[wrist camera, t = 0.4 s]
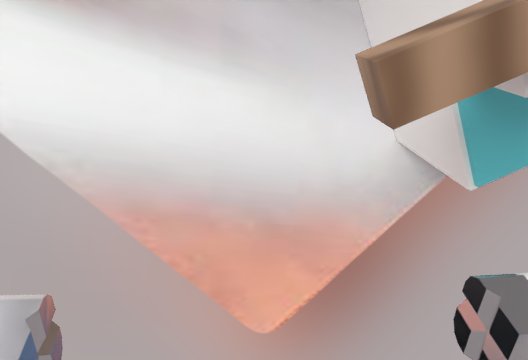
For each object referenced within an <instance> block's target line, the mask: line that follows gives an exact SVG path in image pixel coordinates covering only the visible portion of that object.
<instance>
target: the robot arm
mask: <svg viewBox="0 0 528 360" xmlns="http://www.w3.org/2000/svg"><path fill="white" fill-rule="evenodd" d="M462 291H463V293H464V295H465V297H466V298H467V299H466V300H465V301H463V302H462V303H461V304H460V305H459V306H458V307H457V309H456V313H455V316H454V333H455V336H456V339H457V342H458V344H459V346H460V348H461V350H462V352H463V353H464V354H465V355H467V356H468V357H469V358H471V359H472V360H528V273H518V274H502V275H484V276H470V277H469V278H468V279H467V280H466V282H465V284H464V287H463V290H462ZM55 310H56V309H55V306H54V303H53V299H52V297H51V296H50V295H48V294H32V295H0V360H61V357H62V335H61V331H60V327H59V326H57V324H55V323H54V322H52V318H53V315H54V313H55Z"/></svg>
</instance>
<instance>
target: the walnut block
mask: <svg viewBox="0 0 528 360" xmlns="http://www.w3.org/2000/svg"><path fill="white" fill-rule="evenodd" d="M355 56H356V59H357V63H358V66H359V70H360V73H361V77H362V80H363V84H364V87H365V91H366V94H367V98H368V101H369V105H370V108H371V112H372V115H373V117H375V118H376V119H378V120H379V121H381V122H382V123H384V124H386V125H387V126H389V127H390V128H392V129H393V130H394V129H396V128H399V127H401V126H403V125H406V124H408V123H410V122H413V121H415V120H417V119H420V118H422V117H424V116H427V115H429V114H431V113H434V112H436V111H438V110H441V109H443V108H445V107H448V106H450V105H452V104H455V103H457V102H459V101H462V100H464V99H466V98H469V97H471V96H473V95H476V94H478V93H481V92H483V91H485V90H488V89H490V88H492V87H495V86H497V85H499V84H502V83H504V82H506V81H509V80H511V79H513V78H516V77H518V76H520V75H523V74H525V73H527V72H528V0H483V1H481V2H478V3H476V4H473V5H471V6H469V7H466V8H464V9H462V10H459V11H457V12H455V13H452V14H450V15H447V16H445V17H443V18H440V19H438V20H436V21H433V22H431V23H429V24H426V25H424V26H421V27H419V28H417V29H414V30H412V31H410V32H407V33H405V34H403V35H400V36H398V37H395V38H393V39H391V40H388V41H386V42H384V43H381V44H379V45H377V46H374V47H372V48H369V49H367V50H365V51H362V52H360V53H358V54H355Z"/></svg>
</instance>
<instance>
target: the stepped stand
mask: <svg viewBox="0 0 528 360" xmlns="http://www.w3.org/2000/svg"><path fill="white" fill-rule="evenodd" d="M481 1H483V0H359V4H360V8H361V11H362V15H363V19H364V22H365V26H366V30H367V33H368V37H369V41H370V45H371V48H372V47H374V46H377V45H379V44H381V43H384V42H386V41H388V40H391V39H393V38H395V37H398V36H400V35H403V34H405V33H407V32H410V31H412V30H414V29H417V28H419V27H421V26H424V25H426V24H429V23H431V22H433V21H436V20H438V19H440V18H443V17H445V16H447V15H450V14H452V13H455V12H457V11H459V10H462V9H464V8H466V7H469V6H471V5H473V4H476V3H478V2H481ZM394 133H395V137H396V141H398V142H399V143H401V144H402V145H404V146H405V147H407V148H408V149H409V150H411V151H412V152H414V153H415V154H417V155H418V156H420V157H421V158H423V159H424V160H425V161H427V162H428V163H430V164H431V165H433V166H434V167H436V168H437V169H438V170H440V171H441V172H443V173H444V174H446V175H447V176H449V177H450V178H452V179H453V180H454V181H456V182H457V183H459V184H460V185H462V186H463V187H465V188H466V189H467V190H469V191H472V190H475V189H477V188H479V187H482V186H484V185H486V184H489V183H491V182H493V181H496V180H498V179H500V178H502V177H505V176H507V175H509V174H512V173H514V172H516V171H519V170H521V169H523V168H525V167H528V72H527V73H525V74H523V75H520V76H518V77H516V78H513V79H511V80H509V81H506V82H504V83H502V84H499V85H497V86H495V87H492V88H490V89H488V90H485V91H483V92H481V93H478V94H476V95H473V96H471V97H469V98H466V99H464V100H462V101H459V102H457V103H455V104H452V105H450V106H448V107H445V108H443V109H441V110H438V111H436V112H434V113H431V114H429V115H427V116H424V117H422V118H420V119H417V120H415V121H413V122H410V123H408V124H406V125H403V126H401V127H399V128H396V129H394Z"/></svg>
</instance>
